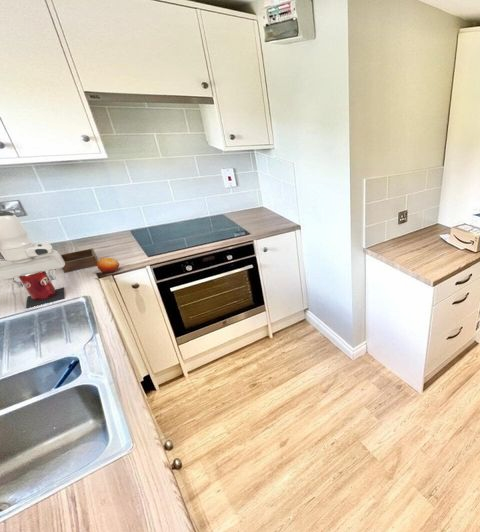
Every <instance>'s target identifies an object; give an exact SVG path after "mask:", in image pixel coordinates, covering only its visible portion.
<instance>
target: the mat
mask: <svg viewBox="0 0 480 532" xmlns="http://www.w3.org/2000/svg"><path fill="white" fill-rule="evenodd" d="M55 290H56V292H57V294H56V295H55V296H54V297H52V298H50V299H47V300H43V301H34V300H32V298H31V296H30V295H28V296H27V297H26V304H25V309H26V308H27V309H30V307H31V308H34V306H35V307H38V306H42V305H45V303H46V304H49V303H53V302H57V301H61V300H64V299H65V298H66V297H65V287H59V288H55ZM41 304H42V305H41ZM37 305H38V306H37Z"/></svg>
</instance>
